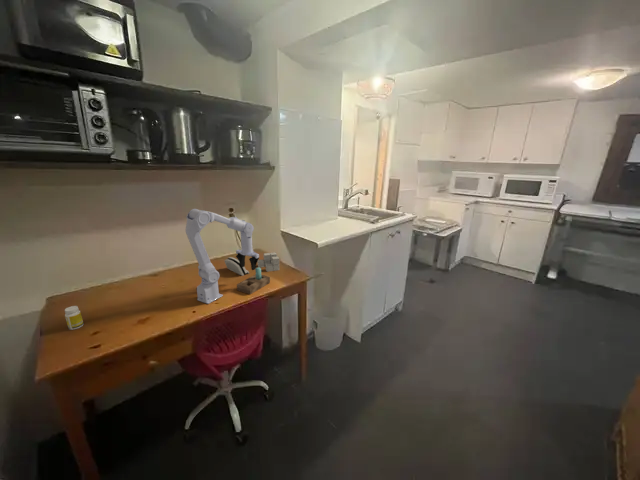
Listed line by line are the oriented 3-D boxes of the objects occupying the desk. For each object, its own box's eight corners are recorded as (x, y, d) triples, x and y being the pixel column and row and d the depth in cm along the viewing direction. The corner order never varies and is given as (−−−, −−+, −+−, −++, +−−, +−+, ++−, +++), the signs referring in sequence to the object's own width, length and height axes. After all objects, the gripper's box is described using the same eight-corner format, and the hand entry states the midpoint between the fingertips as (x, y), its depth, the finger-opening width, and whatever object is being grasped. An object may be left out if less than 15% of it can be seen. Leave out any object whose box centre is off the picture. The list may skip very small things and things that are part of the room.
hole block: (250, 294, 141) (250, 288, 140) (237, 290, 145) (236, 284, 144) (270, 282, 155) (269, 276, 154) (257, 279, 159) (257, 273, 158)
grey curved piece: (249, 273, 166) (243, 260, 161) (243, 278, 164) (237, 264, 159) (234, 266, 177) (228, 253, 172) (228, 270, 174) (222, 257, 169)
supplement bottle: (86, 323, 115) (82, 305, 113) (77, 330, 111) (72, 311, 108) (74, 323, 115) (69, 305, 113) (65, 330, 110) (59, 311, 108)
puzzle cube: (257, 265, 179) (257, 254, 177) (276, 263, 183) (275, 252, 181) (260, 272, 168) (259, 260, 166) (279, 270, 172) (279, 258, 170)
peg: (259, 285, 151) (258, 270, 149) (255, 284, 153) (254, 268, 150) (262, 283, 154) (262, 268, 151) (258, 282, 155) (257, 267, 153)
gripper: (262, 244, 146) (263, 268, 150) (241, 240, 153) (243, 263, 157) (253, 248, 141) (254, 272, 144) (232, 243, 147) (234, 267, 151)
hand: (248, 268), depth 150 cm, fingers open, 7 cm apart
